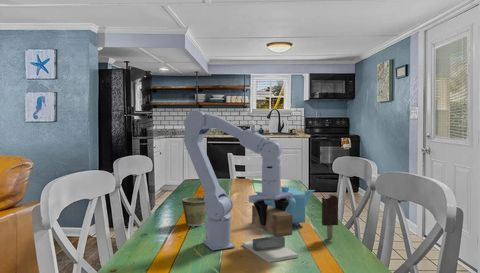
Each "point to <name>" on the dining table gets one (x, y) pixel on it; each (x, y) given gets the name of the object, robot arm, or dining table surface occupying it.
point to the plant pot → (194, 211)
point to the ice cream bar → (330, 213)
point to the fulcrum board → (270, 249)
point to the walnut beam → (274, 221)
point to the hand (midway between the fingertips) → (270, 223)
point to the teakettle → (294, 204)
